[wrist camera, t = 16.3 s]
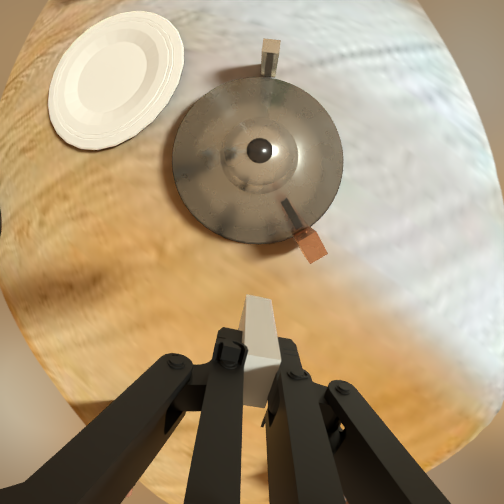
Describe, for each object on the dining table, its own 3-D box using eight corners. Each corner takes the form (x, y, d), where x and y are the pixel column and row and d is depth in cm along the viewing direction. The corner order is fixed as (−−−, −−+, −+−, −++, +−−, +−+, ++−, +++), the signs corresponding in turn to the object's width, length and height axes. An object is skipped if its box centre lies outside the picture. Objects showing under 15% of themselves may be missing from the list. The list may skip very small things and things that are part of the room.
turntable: (147, 134, 36) (131, 127, 31) (285, 56, 33) (289, 38, 28) (240, 288, 40) (237, 303, 35) (377, 210, 38) (394, 213, 32)
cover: (214, 185, 36) (206, 185, 31) (229, 114, 34) (225, 101, 29) (288, 201, 37) (294, 203, 31) (303, 129, 35) (311, 119, 29)
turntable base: (148, 114, 37) (126, 99, 29) (294, 53, 35) (302, 27, 27) (215, 267, 42) (205, 285, 34) (363, 205, 39) (386, 209, 32)
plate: (69, 32, 33) (64, 29, 31) (196, 6, 33) (194, 0, 31) (45, 157, 38) (39, 157, 37) (178, 147, 38) (175, 145, 37)
